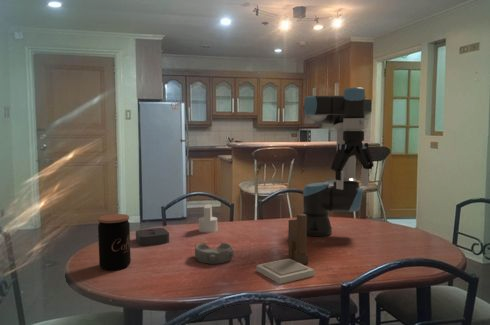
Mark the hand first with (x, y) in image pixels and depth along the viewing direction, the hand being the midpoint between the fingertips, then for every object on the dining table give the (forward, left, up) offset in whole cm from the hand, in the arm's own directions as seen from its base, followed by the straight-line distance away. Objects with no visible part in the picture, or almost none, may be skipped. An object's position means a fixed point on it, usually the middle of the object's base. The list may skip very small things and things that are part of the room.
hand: (352, 187), depth 151 cm
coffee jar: (-37, -79, -27) cm, 91 cm away
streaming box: (-61, -58, -28) cm, 88 cm away
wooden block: (-9, -19, -27) cm, 34 cm away
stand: (0, -31, -27) cm, 41 cm away
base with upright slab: (-65, -29, -27) cm, 76 cm away
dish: (-26, -45, -27) cm, 59 cm away
